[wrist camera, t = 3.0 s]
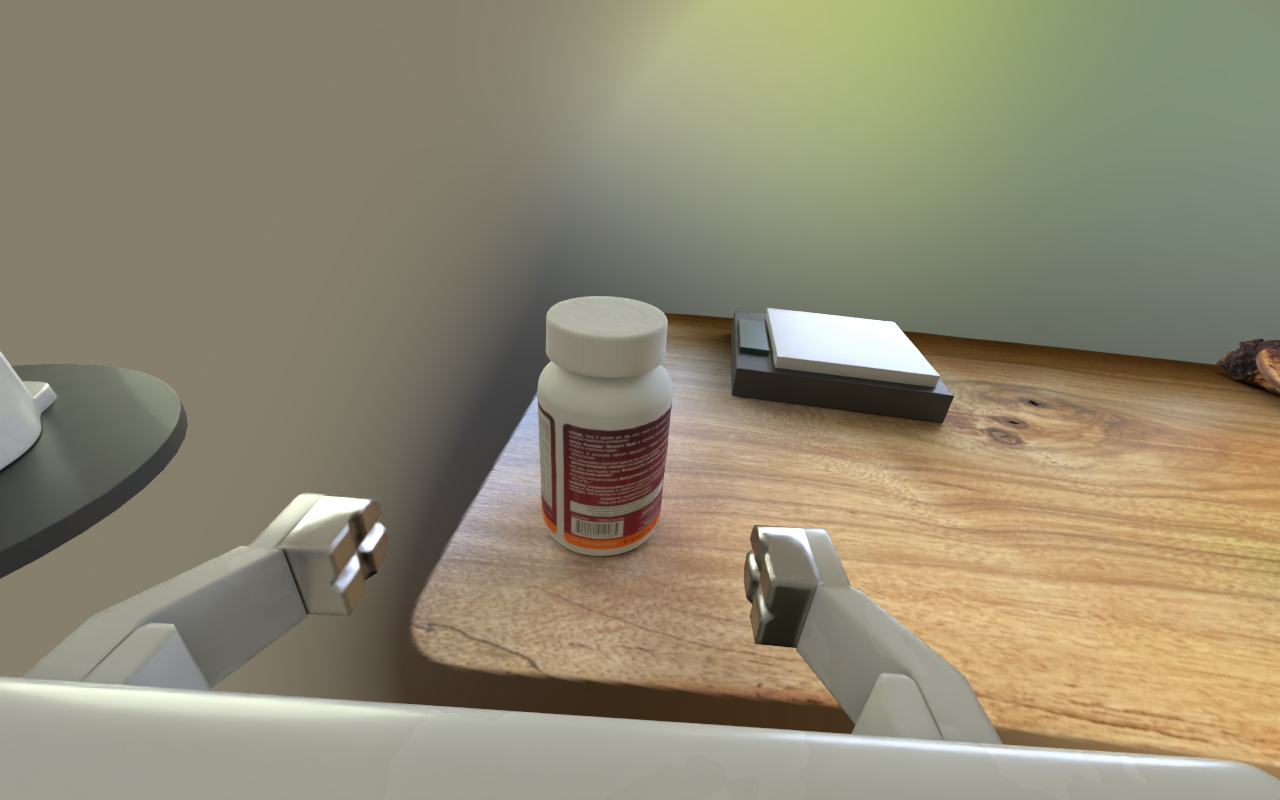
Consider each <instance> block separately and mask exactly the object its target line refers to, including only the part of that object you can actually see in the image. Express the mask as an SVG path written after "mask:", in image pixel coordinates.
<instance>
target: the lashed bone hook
mask: <svg viewBox="0 0 1280 800" xmlns="http://www.w3.org/2000/svg"><path fill="white" fill-rule="evenodd" d="M1239 344H1240V348H1239V349H1237V350H1236V351H1231V352H1228V353H1227V355H1226V356H1225V357H1224V358H1222V359H1220V360H1219V361H1218V362H1217V364H1218V365H1219V366H1221V367H1223V368H1224V369H1225V371H1226V372H1228V373H1230V375H1231V376H1232V377H1233V380H1238V381H1242V382H1246V383H1249V384H1251V385H1254V386H1257V387H1261V388H1266V390H1267V391H1269V392H1270V393H1274V394H1278V395H1280V340H1269V341H1264V340H1263V339H1256V340H1252V341H1246V342H1240V343H1239Z"/></svg>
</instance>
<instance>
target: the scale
mask: <svg viewBox="0 0 1280 800" xmlns="http://www.w3.org/2000/svg"><path fill="white" fill-rule="evenodd" d="M731 370H732V395H733V396H741V397H748V398H756V399H764V400H771V401H779V402H786V403H794V404H802V405H809V406H817V407H825V408H832V409H840V410H847V411H855V412H863V413H870V414H878V415H886V416H893V417H901V418H908V419H916V420H924V421H931V422H939V423H943V421H944V419H945V416H946V414H947V412H948V409H949V407H950V404H951V402H952V400H953V397H954V395H953V394H952V393H951V392H950V390H949V389H948V388H947V387H946V386H945V384H944V383H943V382H942V381H941V380H940V378H939V377H940V376H939V374H938V373H937V372H936V371H935V370H934V368H933V367H932V366H931V365H930V364H929V363H928V361H927V360H926V359H925V358H924V357H923V355H922V354H921V353H920V352H919V351H918V350H917V348H916V347H915V346H914V345H913V344H912V343H911V341H910V340H909V339H908V338H907V337H906V335H905V334H904V333H903V332H902V331H901V330H900V328H899V327H898V326H897V325H896V324H895V322H887V321H879V320H870V319H861V318H852V317H843V316H834V315H826V314H816V313H808V312H799V311H790V310H781V309H772V308H767V312H766V315H765V314H756V313H747V312H739V311H735V312H734V318H733V324H732V330H731Z"/></svg>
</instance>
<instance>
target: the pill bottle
mask: <svg viewBox="0 0 1280 800" xmlns="http://www.w3.org/2000/svg"><path fill="white" fill-rule="evenodd" d="M666 336H667V318H666V316H665V314H664V313H663V312H662V311H661V310H659V309H658V308H656V307H654V306H652V305H650V304H647V303H644V302H640V301H637V300H632V299H626V298H619V297H608V296H606V297H605V296H593V297H579V298H574V299H570V300H566V301H562V302H560V303H557V304H555V305H554V306H552V307H551V308H550V309H549V311H548V313H547V317H546V353H547V356H548V357H549V359H550V360H551V362H550V363H549V364H548V365H547V366H546V367H545V368H544V370H543V371H542V373H541V375H540V378H539V381H538V394H537V397H538V417H539V446H540V469H541V495H542V511H543V519H544V523H545V526H546V528H547V530H548V532H549V533H550V534H551V536H552V537H553V538H554V539H555V540H556V541H557V542H559V543H560V544H561V545H563V546H564V547H566V548H568V549H570V550H572V551H574V552H576V553H580V554H584V555H590V556H610V555H616V554H620V553H624V552H627V551H630V550H632V549H634V548H636V547H638V546H640V545H641V544H642V543H644V542H645V541H646V540H647V539H648V538H649V537H650V536H651V535H652V534H653V532H654V531H655V529H656V527H657V524H658V521H659V516H660V509H661V501H662V490H663V480H664V472H665V463H666V453H667V446H668V434H669V423H670V414H671V407H672V395H673V387H672V382H671V379H670V376H669V374H668V373H667V371H666V370H665V368H664V367H663V366H662V365H661V363H662V362H663V361H664V359H665V353H666Z"/></svg>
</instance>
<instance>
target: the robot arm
mask: <svg viewBox="0 0 1280 800" xmlns="http://www.w3.org/2000/svg"><path fill="white" fill-rule="evenodd" d="M56 398H57V395H56V393H55V392H54V391H53V389H52V388H51V387H50V386H49V384H47V383H45V382H34V381H22V380H21V379H20V378H19V376H18V375H17V374H16V372H15V371H14V369H13V368H12V367H11V365H10V364H9V362H8V361H7V360H6V358H5V357H4V356H3V354H2V353H1V352H0V470H1V469H3V468H4V467H6V466H7V465H9V464H10V463H12V462H13V461H14V460H16V459H17V458H19V457H20V456H21V455H22V454H23V453H25V452H26V451H27V450H28V449H29V448H30V447H31V446H32V445H33V444H34V443H35V441H36V440H37V439H38V437H39V435H40V433H41V429H42V426H41V420H40V416H41V413H42V412H43V411H45V410H46V409H47V408H48V407H49V406H50V405H51V404H52V403H53V402H54V401H55V400H56ZM381 514H382V511H381V507H380V503H379V501H377V500H375V499H373V498H362V497H352V496H341V495H330V494H329V495H324V494H314V493H304V494H301V495H299V496H297V497H296V498H295V499H294V500H293V501H292V502H291V503H290V504H289V505H288V506H287V507H286V508H285V509H284V510H283V511H282V512H281V513H280V514H279V515H278V516H277V518H276V519H275V520H274V521H273V522H272V523H271V524H270V525H269V526H268V527H267V528H266V529H265V530H264V531H263V532H262V533H261V534H260V535H259V536H258V537H257V538H256V539H255V540H254V541H253V542H252V543H251V544H250V545H249V546H240V547H237V548H235V549H233V550H231V551H229V552H227V553H225V554H223V555H221V556H218V557H216V558H214V559H212V560H210V561H208V562H206V563H204V564H202V565H200V566H197V567H195V568H193V569H191V570H189V571H187V572H184V573H182V574H180V575H178V576H176V577H174V578H172V579H170V580H168V581H166V582H163V583H161V584H159V585H157V586H155V587H153V588H151V589H148V590H146V591H144V592H142V593H140V594H138V595H136V596H134V597H132V598H129V599H127V600H125V601H123V602H121V603H119V604H117V605H115V606H112V607H110V608H108V609H106V610H104V611H102V612H100V613H98V614H96V615H93V616H91V617H90V618H89V619H88V620H87V621H86V622H85V623H83V624H82V625H81V626H80V627H79V628H78V629H76V630H75V631H74V632H73V633H72V634H71V635H70V636H68V637H67V638H66V639H65V640H64V641H63V642H61V643H60V644H59V645H58V646H57V647H56V648H55V649H53V650H52V651H51V652H50V653H49V654H48V655H47V656H45V657H44V658H43V659H42V660H41V661H40V662H38V663H37V664H36V665H35V666H34V667H33V668H32V669H30V670H29V671H28V672H27V673H26V674H25V675H23V676H22V677H21V678H16V677H1V676H0V800H1280V780H1279V779H1277V778H1275V777H1274V776H1272V775H1270V774H1269V773H1267V772H1265V771H1263V770H1261V769H1259V768H1256V767H1254V766H1251V765H1248V764H1244V763H1240V762H1237V761H1229V760H1221V759H1212V758H1199V757H1182V756H1167V755H1151V754H1136V753H1121V752H1105V751H1091V750H1075V749H1060V748H1045V747H1031V746H1030V747H1029V746H1016V745H1003V744H1002V742H1001V740H1000V738H999V737H998V735H997V733H996V731H995V729H994V728H993V726H992V724H991V722H990V720H989V719H988V717H987V715H986V713H985V711H984V710H983V708H982V706H981V704H980V702H979V701H978V699H977V697H976V695H975V693H974V692H973V690H972V688H971V686H970V684H969V683H968V681H967V679H966V677H965V676H964V675H962V674H961V673H960V672H959V671H958V670H956V669H955V668H954V667H953V666H952V665H950V664H949V663H948V662H947V661H946V660H944V659H943V658H942V657H941V656H939V655H938V654H937V653H936V652H935V651H933V650H932V649H931V648H930V647H929V646H927V645H926V644H925V643H924V642H923V641H921V640H920V639H919V638H918V637H917V636H915V635H914V634H913V633H912V632H911V631H909V630H908V629H907V628H906V627H905V626H903V625H902V624H901V623H900V622H898V621H897V620H896V619H895V618H894V617H892V616H891V615H890V614H889V613H888V612H886V611H885V610H884V609H883V608H882V607H880V606H879V605H878V604H877V603H876V602H874V601H873V600H872V599H871V598H870V597H868V596H867V595H866V594H865V593H863V592H862V591H861V590H860V589H857V588H852V587H851V585H850V583H849V580H848V578H847V576H846V573H845V571H844V569H843V566H842V564H841V562H840V559H839V557H838V555H837V552H836V550H835V548H834V545H833V543H832V541H831V538H830V536H829V534H828V532H827V531H826V530H825V529H822V528H803V527H801V528H797V527H780V526H764V525H754V527H753V529H752V533H751V537H750V540H751V545H752V550H751V551H749V552H748V553H747V555H746V560H745V566H744V585H745V592H746V598H747V599H748V600H749V601H750V602H751V603H752V609H751V613H750V619H751V625H752V630H753V635H754V640H755V644H762V645H772V646H782V647H793V648H797V649H796V650H797V652H798V653H799V654H800V655H801V657H802V658H803V659H804V660H805V662H806V663H807V664H808V665H809V667H810V668H811V669H812V670H813V672H814V673H815V674H816V675H817V677H818V678H819V679H820V681H821V682H822V683H823V684H824V686H825V687H826V688H827V689H828V691H829V692H830V693H831V694H832V696H833V697H834V698H835V699H836V701H837V702H838V703H839V704H840V706H841V707H842V708H843V710H844V711H845V712H846V713H847V714H848V715H849V717H850V718H851V720H852V721H853V722H854V723H855V725H856V726H855V728H854V730H853V732H852V734H840V733H826V732H811V731H797V730H796V731H795V730H782V729H767V728H753V727H737V726H722V725H709V724H693V723H679V722H678V723H677V722H663V721H649V720H634V719H618V718H603V717H589V716H572V715H558V714H544V713H530V712H514V711H501V710H486V709H472V708H471V709H470V708H457V707H442V706H428V705H413V704H399V703H383V702H370V701H355V700H340V699H326V698H311V697H295V696H281V695H267V694H251V693H237V692H223V691H212V689H211V688H212V687H214V686H215V685H216V684H218V683H219V682H221V681H222V680H223V679H225V678H226V677H227V676H229V675H230V674H231V673H233V672H234V671H235V670H237V669H238V668H239V667H241V666H242V665H243V664H245V663H246V662H247V661H249V660H250V659H251V658H253V657H254V656H255V655H257V654H258V653H260V652H261V651H262V650H264V649H265V648H266V647H268V646H269V645H270V644H272V643H273V642H274V641H276V640H277V639H278V638H280V637H281V636H282V635H284V634H285V633H286V632H288V631H289V630H290V629H292V628H293V627H294V626H296V625H297V624H298V623H300V622H301V621H302V620H304V619H305V618H306V617H307V614H311V615H337V616H350V615H351V613H352V612H353V610H354V609H355V607H356V605H357V604H358V602H359V601H360V599H361V598H362V596H363V594H364V593H365V591H366V585H365V580H366V579H368V578H369V577H371V576H372V575H374V574H376V573H377V572H378V570H379V569H380V567H381V565H382V564H383V562H384V559H385V556H386V552H387V549H388V536H387V531H386V528H385V527H384V526H382V525H381V524H380V523H379V522H378V521H377V520H378V518H379V517H380V516H381Z"/></svg>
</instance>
